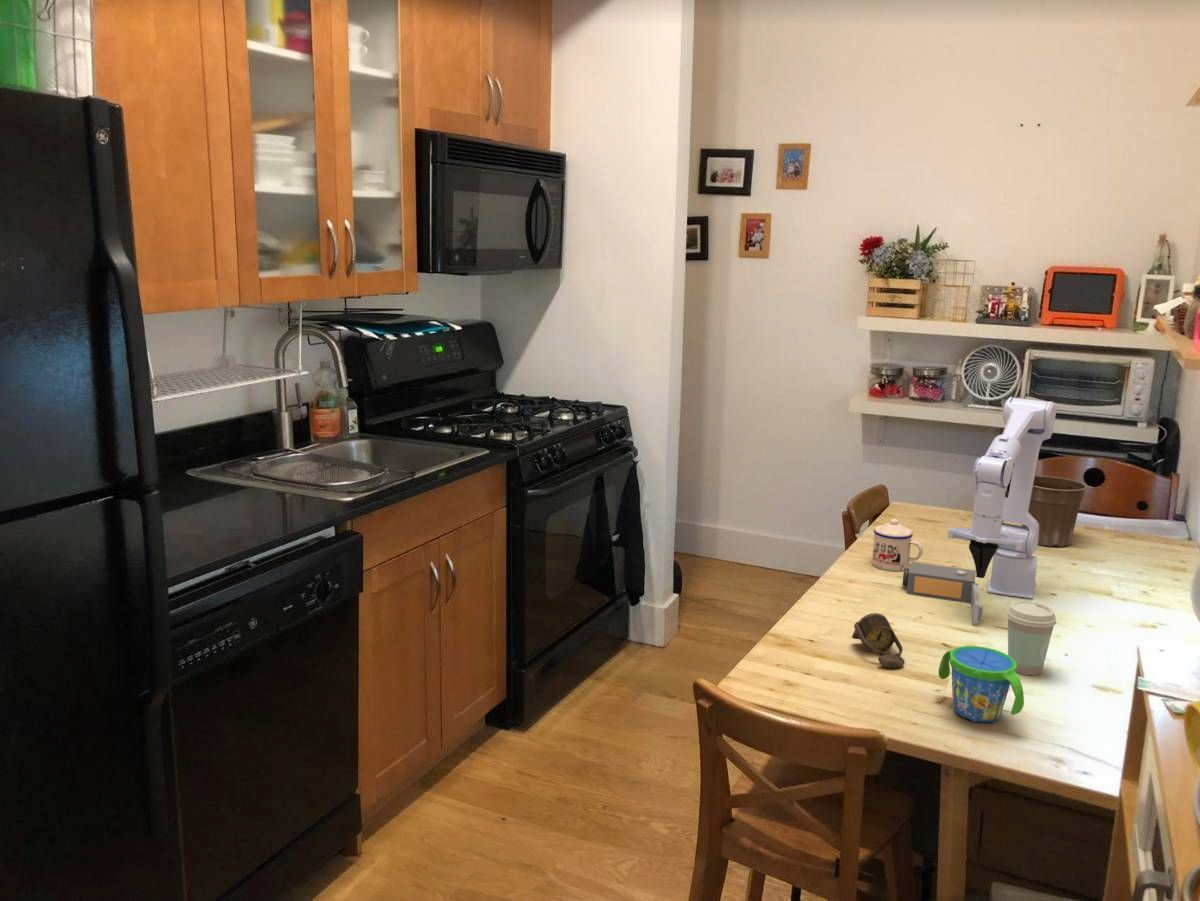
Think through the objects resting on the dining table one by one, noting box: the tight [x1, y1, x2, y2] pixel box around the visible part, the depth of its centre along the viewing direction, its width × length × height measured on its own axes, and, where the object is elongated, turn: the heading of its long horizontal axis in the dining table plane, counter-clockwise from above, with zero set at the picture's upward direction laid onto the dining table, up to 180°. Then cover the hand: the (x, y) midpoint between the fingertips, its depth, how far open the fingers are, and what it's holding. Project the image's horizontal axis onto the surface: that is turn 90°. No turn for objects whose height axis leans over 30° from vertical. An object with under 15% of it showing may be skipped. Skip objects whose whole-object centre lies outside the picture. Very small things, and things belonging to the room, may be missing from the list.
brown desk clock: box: [851, 612, 906, 669], centre depth 190 cm, size 7×13×10 cm
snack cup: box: [938, 645, 1025, 723], centre depth 166 cm, size 16×10×10 cm
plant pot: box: [1021, 475, 1088, 548], centre depth 263 cm, size 16×16×16 cm
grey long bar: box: [969, 582, 984, 625], centre depth 211 cm, size 14×2×4 cm, turn 161°
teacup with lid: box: [871, 518, 924, 572], centre depth 240 cm, size 12×9×12 cm
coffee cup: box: [1005, 600, 1057, 676], centre depth 184 cm, size 8×8×12 cm
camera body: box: [902, 561, 976, 604], centre depth 224 cm, size 15×8×6 cm, turn 68°
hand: (980, 576), depth 208 cm, fingers closed
